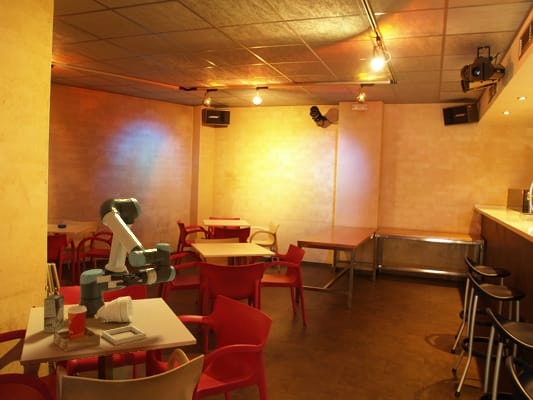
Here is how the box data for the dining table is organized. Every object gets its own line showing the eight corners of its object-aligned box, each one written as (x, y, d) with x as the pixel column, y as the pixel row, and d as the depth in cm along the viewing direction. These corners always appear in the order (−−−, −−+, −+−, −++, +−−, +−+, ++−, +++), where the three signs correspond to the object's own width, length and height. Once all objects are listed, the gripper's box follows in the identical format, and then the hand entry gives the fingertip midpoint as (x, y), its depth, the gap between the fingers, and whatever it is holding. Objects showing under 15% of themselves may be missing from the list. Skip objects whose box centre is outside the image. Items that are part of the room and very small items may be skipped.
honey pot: (130, 326, 231) (94, 331, 229) (134, 312, 243) (100, 317, 241) (125, 304, 226) (88, 309, 225) (129, 291, 239) (95, 296, 237)
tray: (101, 335, 213) (102, 331, 213) (131, 329, 223) (131, 325, 223) (115, 344, 202) (115, 340, 202) (146, 337, 212) (146, 333, 212)
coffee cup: (70, 337, 207) (70, 305, 206) (89, 337, 208) (89, 305, 207) (64, 344, 199) (64, 310, 198) (83, 344, 199) (83, 310, 199)
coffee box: (57, 332, 216) (57, 299, 215) (43, 332, 215) (43, 299, 215) (64, 326, 225) (64, 294, 224) (50, 326, 225) (50, 294, 224)
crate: (53, 341, 204) (53, 333, 203) (87, 335, 214) (87, 326, 214) (65, 351, 193) (65, 342, 192) (99, 343, 203) (100, 335, 202)
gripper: (157, 289, 215) (113, 295, 201) (133, 280, 234) (92, 285, 220) (157, 273, 215) (113, 278, 201) (133, 265, 233) (92, 270, 219)
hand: (102, 282), depth 210 cm, fingers open, 13 cm apart
